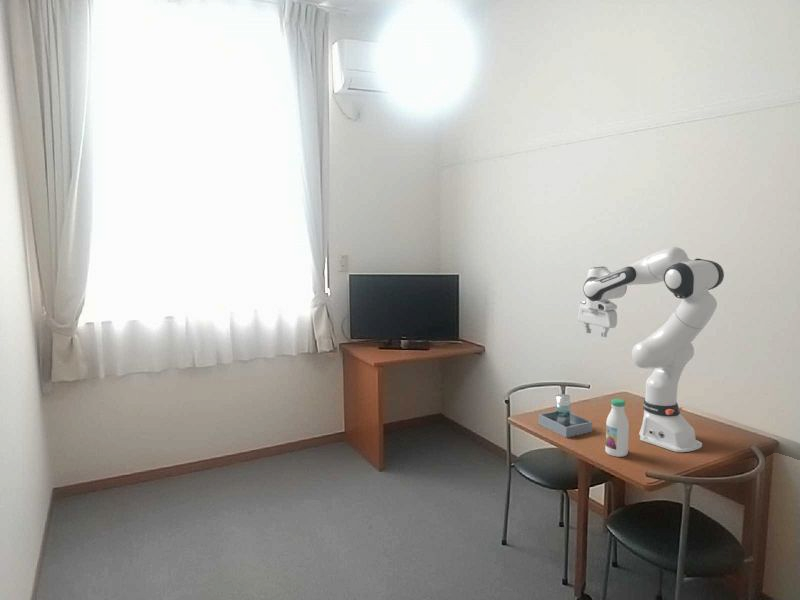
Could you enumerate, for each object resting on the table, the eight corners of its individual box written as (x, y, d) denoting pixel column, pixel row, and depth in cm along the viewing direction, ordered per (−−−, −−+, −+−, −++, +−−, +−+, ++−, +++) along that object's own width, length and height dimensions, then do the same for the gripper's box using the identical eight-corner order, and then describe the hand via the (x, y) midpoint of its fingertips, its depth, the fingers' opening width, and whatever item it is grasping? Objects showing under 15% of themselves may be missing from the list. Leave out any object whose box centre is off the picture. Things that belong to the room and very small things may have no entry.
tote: (592, 431, 223) (592, 422, 223) (566, 437, 218) (566, 427, 217) (563, 418, 239) (563, 409, 238) (538, 423, 233) (538, 414, 233)
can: (573, 424, 229) (573, 396, 227) (563, 427, 227) (562, 399, 225) (563, 420, 234) (562, 393, 232) (553, 423, 232) (552, 396, 230)
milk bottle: (624, 448, 206) (626, 396, 203) (630, 457, 199) (632, 403, 196) (602, 448, 207) (604, 396, 204) (608, 457, 200) (610, 403, 197)
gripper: (574, 301, 250) (574, 331, 252) (608, 307, 231) (607, 339, 233) (585, 300, 252) (584, 330, 254) (620, 306, 234) (619, 338, 236)
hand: (596, 334), depth 244 cm, fingers open, 8 cm apart
